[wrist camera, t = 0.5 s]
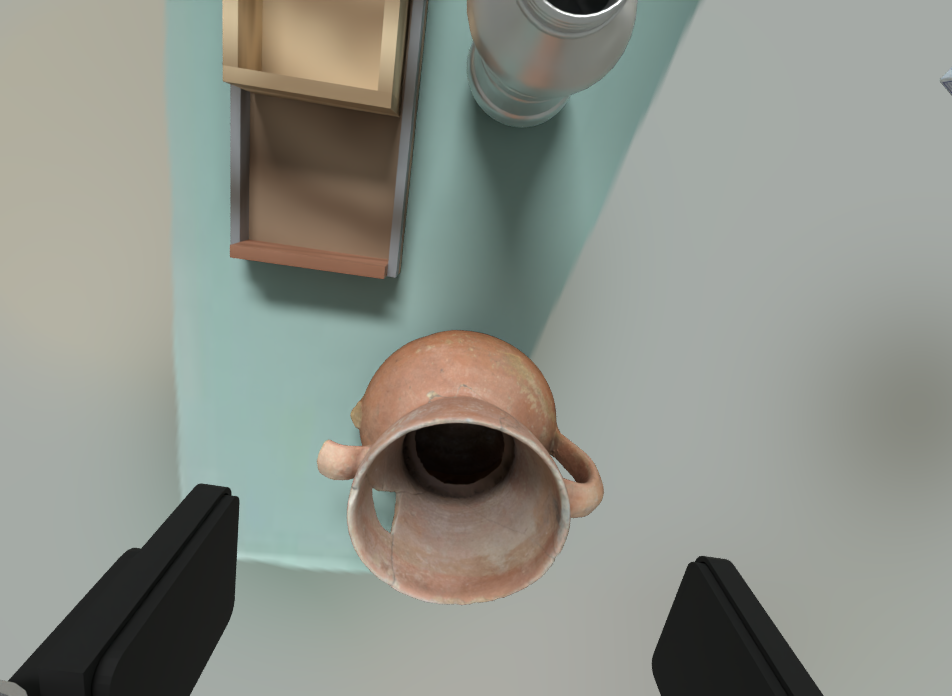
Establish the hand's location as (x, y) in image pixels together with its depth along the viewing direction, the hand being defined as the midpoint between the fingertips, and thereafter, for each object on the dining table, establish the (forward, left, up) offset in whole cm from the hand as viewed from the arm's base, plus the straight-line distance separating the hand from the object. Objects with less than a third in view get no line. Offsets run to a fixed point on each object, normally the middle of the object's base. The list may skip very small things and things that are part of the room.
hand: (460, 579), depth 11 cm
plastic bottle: (-14, -2, -29) cm, 33 cm away
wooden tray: (-9, -13, -29) cm, 33 cm away
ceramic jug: (+9, +4, -29) cm, 31 cm away
